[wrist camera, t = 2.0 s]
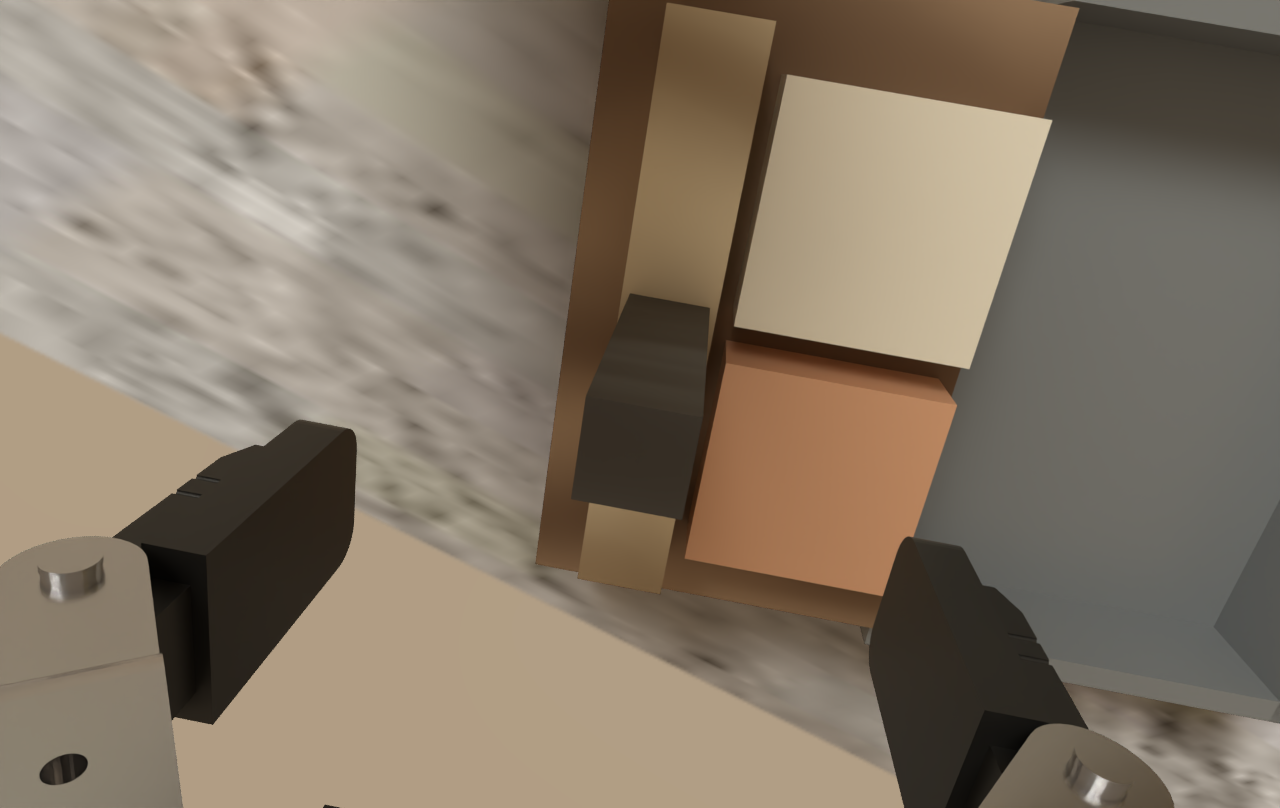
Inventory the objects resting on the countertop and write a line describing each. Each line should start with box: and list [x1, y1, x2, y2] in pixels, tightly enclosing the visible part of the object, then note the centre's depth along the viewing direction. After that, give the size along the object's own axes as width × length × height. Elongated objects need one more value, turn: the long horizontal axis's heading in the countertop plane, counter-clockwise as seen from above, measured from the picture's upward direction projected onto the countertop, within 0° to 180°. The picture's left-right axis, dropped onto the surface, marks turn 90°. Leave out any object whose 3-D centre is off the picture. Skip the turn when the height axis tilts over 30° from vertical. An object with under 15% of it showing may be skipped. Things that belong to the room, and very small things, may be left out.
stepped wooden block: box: [535, 0, 1079, 628], centre depth 25 cm, size 18×11×5 cm, turn 171°
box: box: [860, 0, 1280, 723], centre depth 25 cm, size 20×14×4 cm
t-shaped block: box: [571, 3, 776, 594], centre depth 19 cm, size 15×2×10 cm, turn 171°
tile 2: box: [733, 74, 1052, 369], centre depth 21 cm, size 6×6×2 cm
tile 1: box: [685, 340, 957, 596], centre depth 23 cm, size 6×6×2 cm
